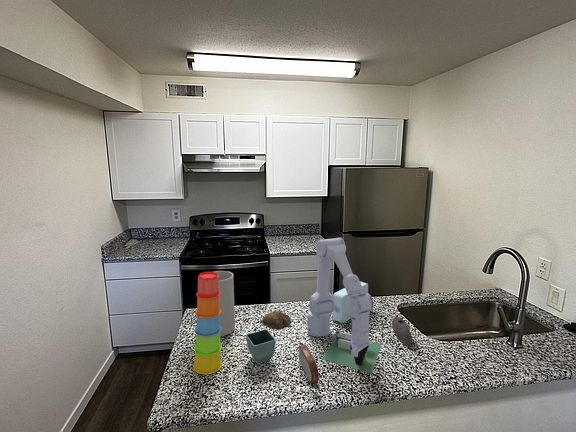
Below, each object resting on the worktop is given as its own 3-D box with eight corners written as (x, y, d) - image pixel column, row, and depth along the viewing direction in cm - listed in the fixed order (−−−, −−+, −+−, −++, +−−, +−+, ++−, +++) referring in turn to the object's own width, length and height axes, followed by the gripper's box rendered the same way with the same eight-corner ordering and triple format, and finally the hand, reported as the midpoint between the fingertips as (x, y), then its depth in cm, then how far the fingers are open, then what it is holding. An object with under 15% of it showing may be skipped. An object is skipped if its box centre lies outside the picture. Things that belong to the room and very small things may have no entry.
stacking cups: (206, 354, 118) (202, 268, 113) (228, 361, 114) (224, 272, 108) (187, 370, 109) (181, 277, 104) (210, 378, 105) (205, 281, 99)
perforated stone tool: (416, 350, 120) (417, 334, 119) (402, 350, 120) (403, 334, 119) (402, 330, 135) (403, 315, 134) (390, 330, 135) (391, 315, 134)
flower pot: (254, 369, 110) (253, 346, 108) (245, 356, 117) (245, 334, 116) (276, 362, 114) (276, 339, 112) (267, 349, 121) (266, 328, 120)
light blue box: (342, 325, 140) (343, 297, 138) (332, 320, 144) (332, 293, 142) (368, 308, 156) (369, 283, 154) (358, 304, 160) (359, 280, 158)
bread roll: (258, 321, 144) (258, 311, 143) (278, 313, 152) (278, 303, 151) (276, 332, 134) (276, 321, 134) (296, 322, 143) (296, 312, 142)
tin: (319, 388, 100) (320, 364, 99) (310, 389, 99) (310, 366, 98) (305, 360, 115) (305, 339, 113) (296, 361, 114) (296, 340, 112)
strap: (332, 339, 123) (332, 335, 123) (335, 334, 127) (335, 331, 126) (369, 347, 116) (369, 344, 116) (371, 342, 120) (372, 338, 120)
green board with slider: (322, 360, 114) (322, 349, 113) (338, 334, 132) (338, 325, 131) (371, 375, 106) (371, 363, 105) (381, 345, 124) (382, 335, 123)
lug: (356, 363, 111) (356, 351, 110) (360, 354, 116) (360, 343, 115) (364, 365, 110) (365, 354, 109) (368, 357, 115) (368, 346, 114)
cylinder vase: (240, 326, 139) (239, 273, 135) (222, 340, 128) (220, 283, 124) (219, 320, 145) (216, 269, 141) (200, 333, 134) (197, 278, 130)
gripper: (367, 341, 98) (365, 380, 100) (376, 321, 111) (374, 355, 113) (345, 336, 101) (344, 373, 103) (356, 317, 114) (355, 350, 116)
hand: (359, 364), depth 108 cm, fingers closed
